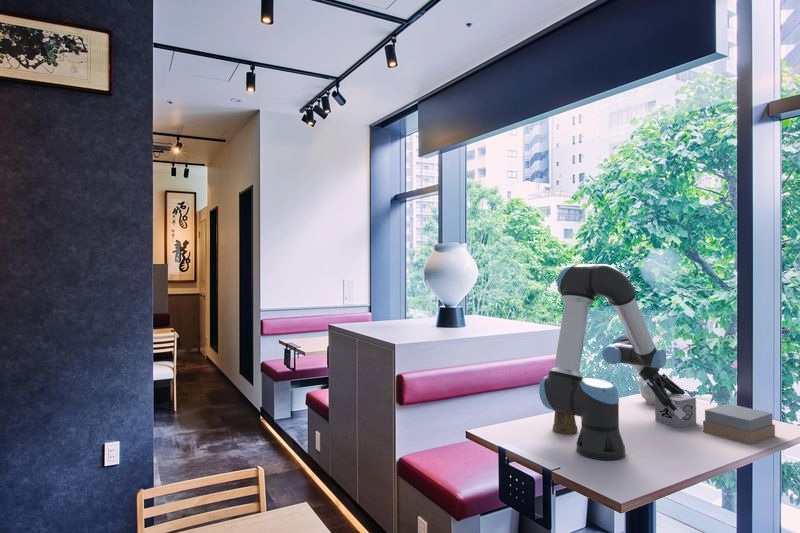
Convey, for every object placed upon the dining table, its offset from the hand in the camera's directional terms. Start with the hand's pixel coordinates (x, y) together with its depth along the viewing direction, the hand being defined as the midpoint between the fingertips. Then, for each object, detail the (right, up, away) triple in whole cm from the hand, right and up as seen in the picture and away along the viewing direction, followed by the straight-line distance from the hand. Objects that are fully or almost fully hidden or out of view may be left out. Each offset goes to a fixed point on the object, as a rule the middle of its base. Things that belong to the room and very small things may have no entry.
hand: (688, 413), depth 193 cm
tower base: (+12, -4, -11) cm, 17 cm away
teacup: (+1, -4, +30) cm, 30 cm away
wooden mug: (-46, -6, -2) cm, 47 cm away
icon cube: (-3, -5, +4) cm, 7 cm away
